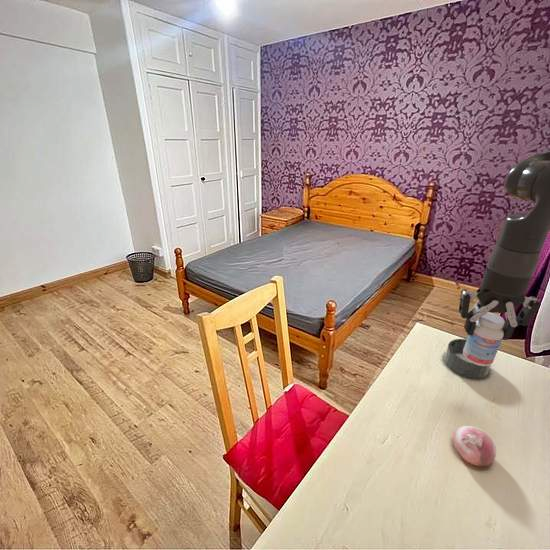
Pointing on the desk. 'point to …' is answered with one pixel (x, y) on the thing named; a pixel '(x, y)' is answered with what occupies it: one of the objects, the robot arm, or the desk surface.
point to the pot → (463, 361)
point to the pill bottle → (484, 340)
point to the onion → (474, 445)
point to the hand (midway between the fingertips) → (485, 335)
